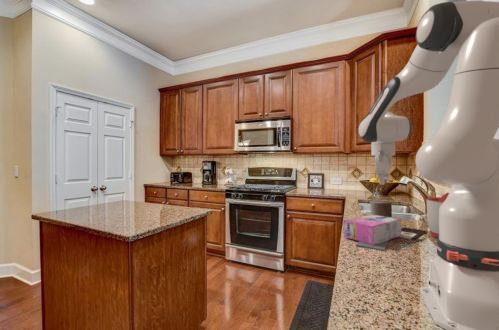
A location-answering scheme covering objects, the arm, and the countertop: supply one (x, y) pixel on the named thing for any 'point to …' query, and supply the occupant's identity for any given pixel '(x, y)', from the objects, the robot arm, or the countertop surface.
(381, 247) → the mat
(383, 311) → the countertop surface
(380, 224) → the gum box
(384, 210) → the pillar candle
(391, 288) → the countertop surface
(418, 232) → the chocolate bar
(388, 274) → the countertop surface
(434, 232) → the citrus juicer
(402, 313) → the countertop surface
